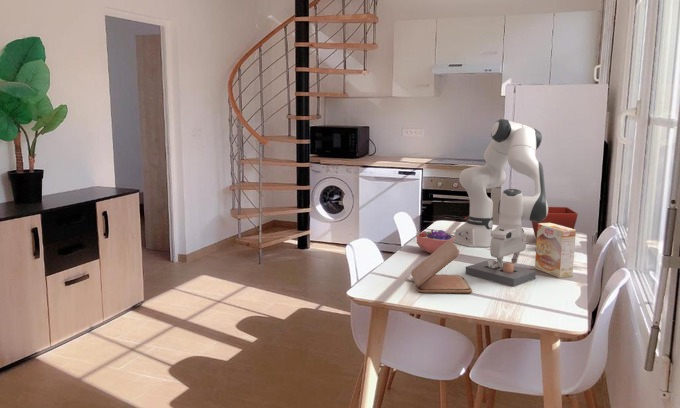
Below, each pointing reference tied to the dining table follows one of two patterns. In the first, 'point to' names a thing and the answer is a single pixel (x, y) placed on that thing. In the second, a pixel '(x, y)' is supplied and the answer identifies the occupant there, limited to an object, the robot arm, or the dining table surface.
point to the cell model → (433, 240)
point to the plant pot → (558, 218)
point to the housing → (501, 274)
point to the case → (432, 265)
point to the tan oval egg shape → (508, 267)
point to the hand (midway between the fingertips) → (507, 264)
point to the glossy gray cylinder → (492, 264)
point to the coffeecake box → (555, 249)
